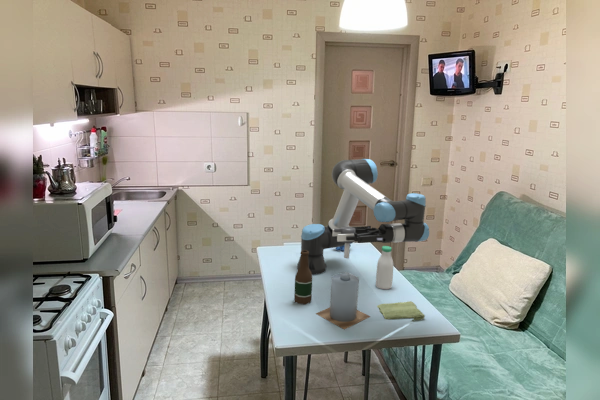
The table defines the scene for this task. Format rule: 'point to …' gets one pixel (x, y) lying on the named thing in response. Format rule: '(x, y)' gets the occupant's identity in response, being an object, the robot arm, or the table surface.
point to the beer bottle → (303, 281)
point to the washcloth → (401, 311)
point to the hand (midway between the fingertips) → (335, 235)
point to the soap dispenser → (344, 297)
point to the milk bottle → (385, 269)
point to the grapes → (341, 248)
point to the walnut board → (343, 325)
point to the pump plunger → (347, 243)
